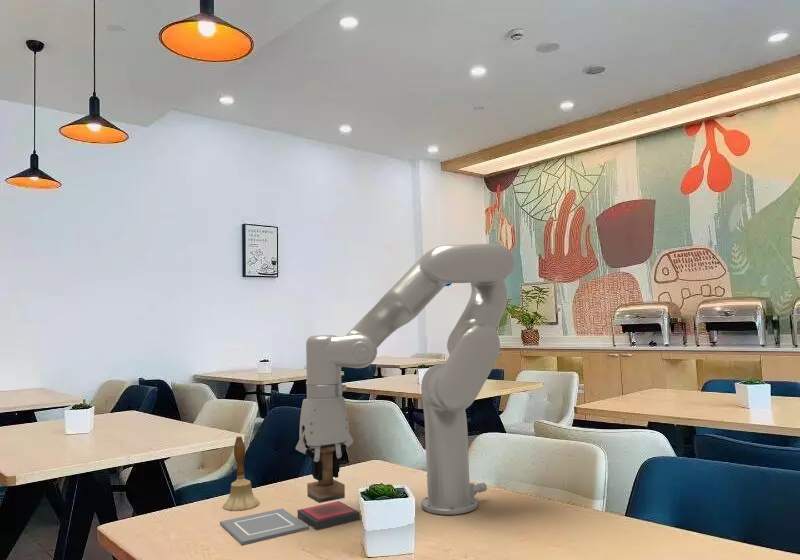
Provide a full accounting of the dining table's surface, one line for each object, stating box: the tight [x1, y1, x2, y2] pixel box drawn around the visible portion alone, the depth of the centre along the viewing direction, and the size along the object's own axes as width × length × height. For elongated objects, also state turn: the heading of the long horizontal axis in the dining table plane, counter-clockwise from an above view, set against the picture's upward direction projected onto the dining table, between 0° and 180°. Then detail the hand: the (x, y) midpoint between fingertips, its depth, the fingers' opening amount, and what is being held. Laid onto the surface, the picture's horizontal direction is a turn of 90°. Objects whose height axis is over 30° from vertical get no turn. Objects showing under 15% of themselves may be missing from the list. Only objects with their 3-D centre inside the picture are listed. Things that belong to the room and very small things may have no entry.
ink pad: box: [296, 500, 361, 531], centre depth 129 cm, size 10×10×2 cm
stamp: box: [306, 445, 346, 504], centre depth 130 cm, size 6×6×11 cm
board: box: [219, 508, 310, 546], centre depth 126 cm, size 14×15×1 cm
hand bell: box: [222, 436, 261, 512], centre depth 142 cm, size 8×8×16 cm
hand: (325, 477), depth 130 cm, fingers closed on stamp, 3 cm apart
